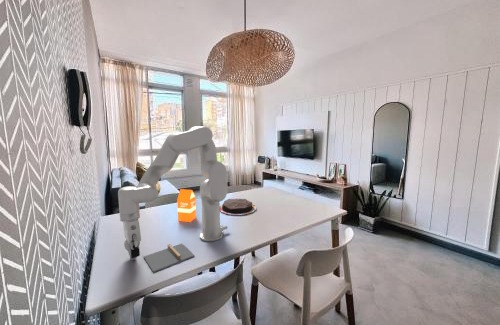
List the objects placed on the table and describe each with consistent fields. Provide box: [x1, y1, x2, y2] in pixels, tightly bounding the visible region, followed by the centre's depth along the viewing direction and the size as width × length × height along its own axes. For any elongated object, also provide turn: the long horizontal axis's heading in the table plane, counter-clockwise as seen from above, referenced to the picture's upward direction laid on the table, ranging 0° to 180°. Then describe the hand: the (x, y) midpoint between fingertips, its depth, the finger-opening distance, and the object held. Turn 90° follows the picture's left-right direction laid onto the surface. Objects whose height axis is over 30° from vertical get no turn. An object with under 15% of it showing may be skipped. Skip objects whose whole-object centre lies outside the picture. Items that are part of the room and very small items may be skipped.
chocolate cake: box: [220, 198, 257, 216], centre depth 161 cm, size 28×28×7 cm
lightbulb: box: [123, 239, 141, 261], centre depth 95 cm, size 6×6×11 cm
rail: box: [167, 243, 181, 260], centre depth 101 cm, size 1×13×2 cm, turn 41°
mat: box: [143, 243, 195, 274], centre depth 98 cm, size 18×14×1 cm
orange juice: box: [176, 188, 197, 223], centre depth 140 cm, size 8×9×20 cm
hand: (132, 252), depth 96 cm, fingers open, 9 cm apart
